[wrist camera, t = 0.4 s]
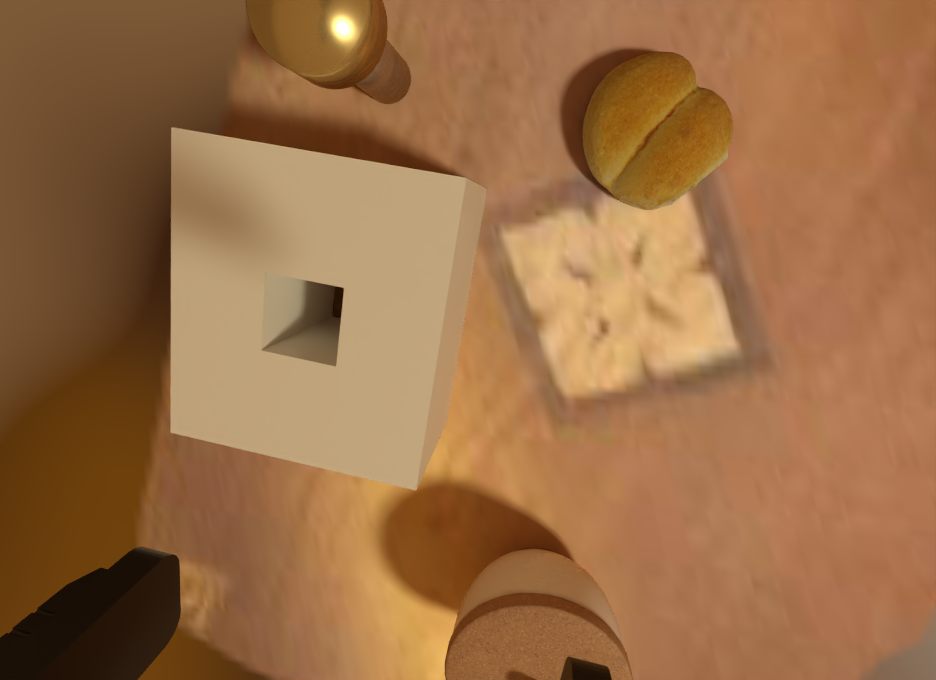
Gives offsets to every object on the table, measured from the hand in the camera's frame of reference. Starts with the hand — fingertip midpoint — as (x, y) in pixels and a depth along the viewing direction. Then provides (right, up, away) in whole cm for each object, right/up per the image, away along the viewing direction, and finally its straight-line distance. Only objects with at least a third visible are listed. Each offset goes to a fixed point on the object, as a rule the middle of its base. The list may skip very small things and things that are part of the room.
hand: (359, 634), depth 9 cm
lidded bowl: (+8, -15, +31) cm, 36 cm away
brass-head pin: (-3, +24, +23) cm, 33 cm away
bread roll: (+14, +19, +22) cm, 33 cm away
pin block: (-6, +9, +27) cm, 29 cm away
